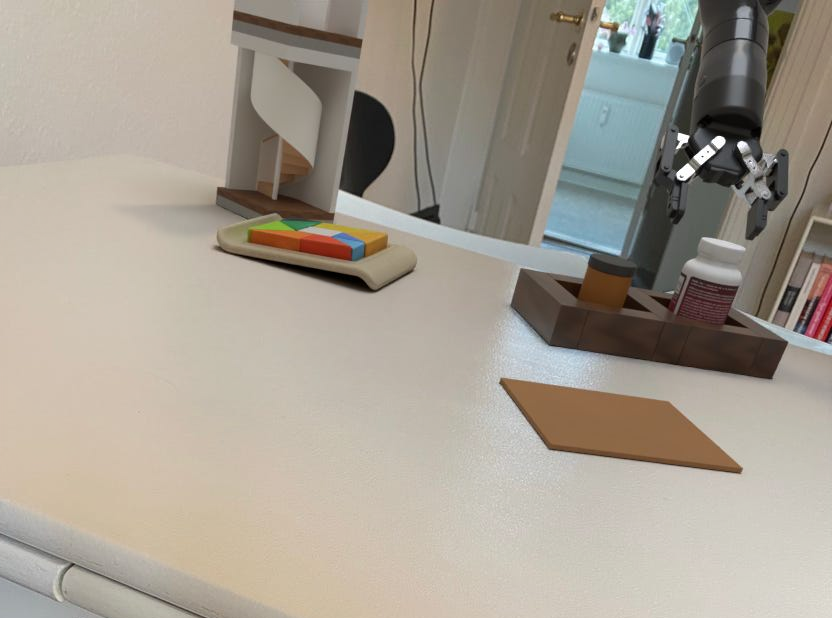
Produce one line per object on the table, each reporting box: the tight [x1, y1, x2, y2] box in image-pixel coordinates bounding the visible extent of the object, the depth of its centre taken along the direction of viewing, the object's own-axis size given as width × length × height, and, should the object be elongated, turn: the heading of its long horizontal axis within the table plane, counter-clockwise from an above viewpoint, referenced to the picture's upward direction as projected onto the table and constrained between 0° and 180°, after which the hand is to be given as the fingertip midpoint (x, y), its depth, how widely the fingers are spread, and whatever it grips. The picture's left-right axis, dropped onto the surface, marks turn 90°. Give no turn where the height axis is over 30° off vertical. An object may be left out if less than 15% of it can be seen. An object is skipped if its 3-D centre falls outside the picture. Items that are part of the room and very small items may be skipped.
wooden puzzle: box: [216, 213, 418, 291], centre depth 102 cm, size 18×19×4 cm
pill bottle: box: [668, 236, 747, 325], centre depth 97 cm, size 6×6×11 cm
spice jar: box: [578, 252, 638, 308], centre depth 96 cm, size 5×5×8 cm
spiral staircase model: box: [215, 0, 370, 224], centre depth 109 cm, size 11×11×35 cm
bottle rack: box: [510, 267, 789, 380], centre depth 98 cm, size 26×14×4 cm, turn 97°
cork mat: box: [499, 377, 744, 474], centre depth 74 cm, size 16×14×1 cm
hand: (715, 227), depth 98 cm, fingers open, 8 cm apart
